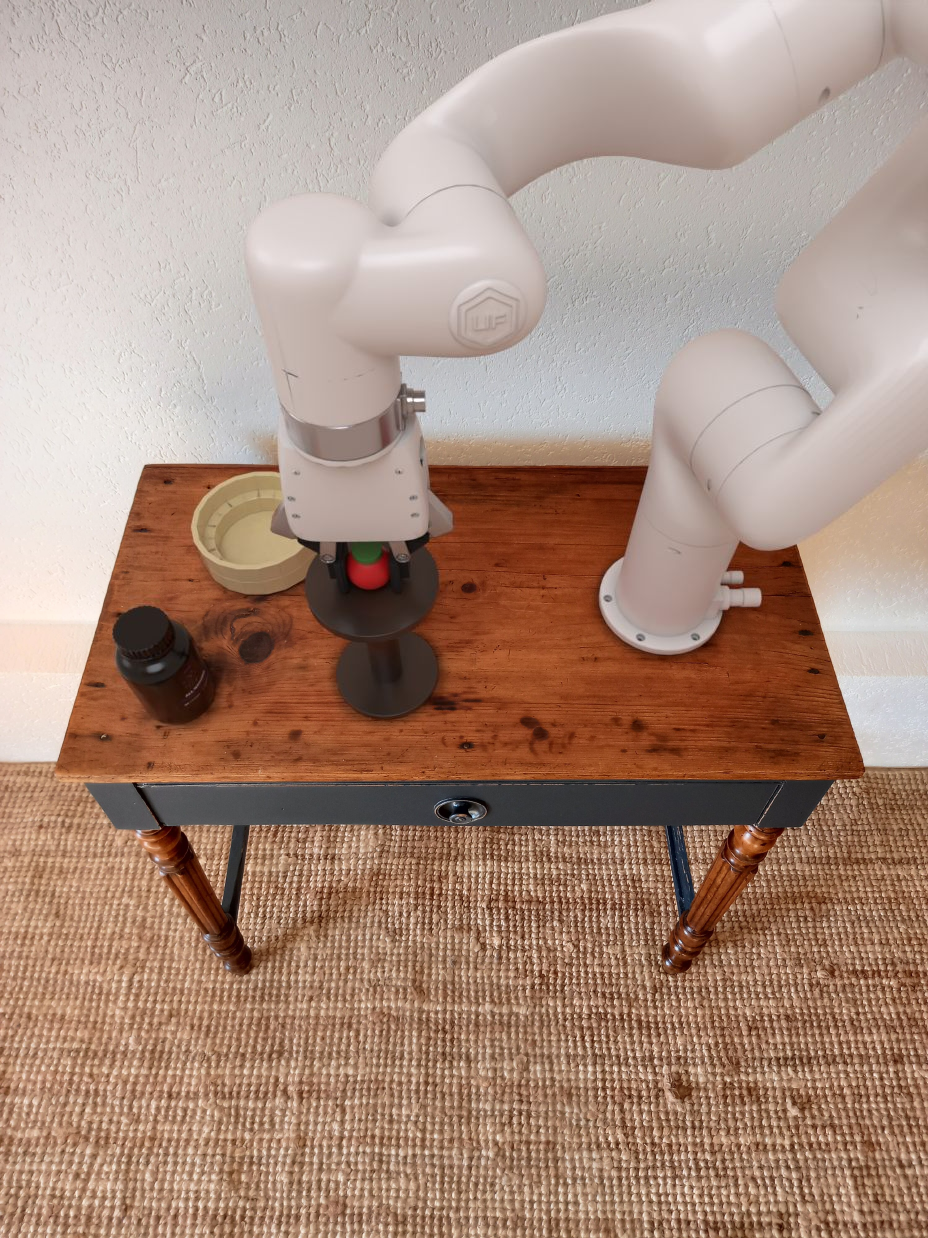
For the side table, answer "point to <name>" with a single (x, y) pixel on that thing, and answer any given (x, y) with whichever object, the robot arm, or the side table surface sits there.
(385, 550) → the tomato
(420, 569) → the cake stand
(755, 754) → the side table surface
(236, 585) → the bowl
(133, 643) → the supplement bottle
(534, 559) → the side table surface
